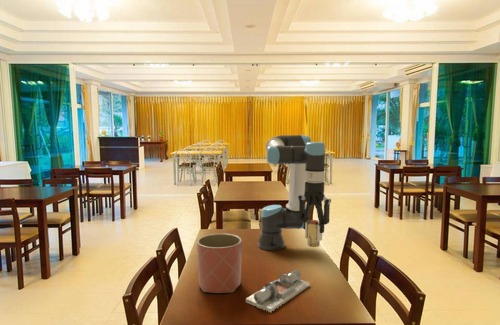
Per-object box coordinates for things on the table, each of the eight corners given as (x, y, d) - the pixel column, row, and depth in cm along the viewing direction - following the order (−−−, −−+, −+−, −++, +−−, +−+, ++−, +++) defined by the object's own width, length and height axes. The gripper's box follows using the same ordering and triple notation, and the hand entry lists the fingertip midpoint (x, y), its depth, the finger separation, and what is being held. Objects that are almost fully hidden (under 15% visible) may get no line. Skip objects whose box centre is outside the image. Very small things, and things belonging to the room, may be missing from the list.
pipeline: (285, 278, 152) (286, 264, 152) (309, 285, 145) (309, 271, 144) (245, 302, 131) (245, 286, 130) (270, 312, 123) (270, 295, 123)
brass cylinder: (311, 242, 138) (311, 218, 137) (321, 244, 135) (322, 220, 134) (305, 245, 135) (305, 221, 134) (315, 247, 132) (316, 223, 131)
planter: (201, 275, 155) (201, 233, 153) (243, 276, 155) (243, 233, 153) (193, 295, 136) (192, 247, 134) (240, 296, 136) (240, 248, 134)
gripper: (290, 180, 135) (289, 236, 138) (331, 185, 124) (329, 246, 126) (300, 178, 141) (299, 232, 143) (340, 182, 130) (338, 241, 132)
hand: (313, 238), depth 135 cm, fingers closed on brass cylinder, 5 cm apart
